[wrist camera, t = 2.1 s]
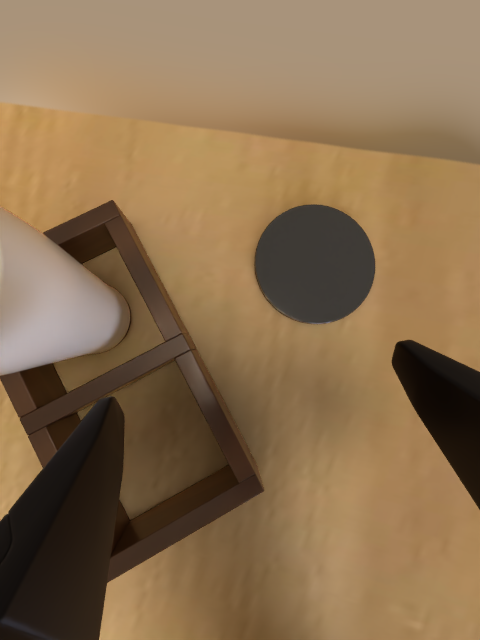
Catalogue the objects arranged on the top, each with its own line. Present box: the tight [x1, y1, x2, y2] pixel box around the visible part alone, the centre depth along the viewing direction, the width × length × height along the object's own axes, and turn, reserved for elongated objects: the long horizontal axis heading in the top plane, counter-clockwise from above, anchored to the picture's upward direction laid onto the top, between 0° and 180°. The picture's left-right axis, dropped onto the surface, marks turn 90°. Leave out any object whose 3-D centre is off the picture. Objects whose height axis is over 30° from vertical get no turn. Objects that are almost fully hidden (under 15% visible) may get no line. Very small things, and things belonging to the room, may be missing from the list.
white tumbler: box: [0, 206, 130, 376], centre depth 16 cm, size 7×7×15 cm
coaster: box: [255, 205, 375, 324], centre depth 24 cm, size 10×10×1 cm
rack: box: [0, 200, 264, 583], centre depth 21 cm, size 21×11×4 cm, turn 28°
